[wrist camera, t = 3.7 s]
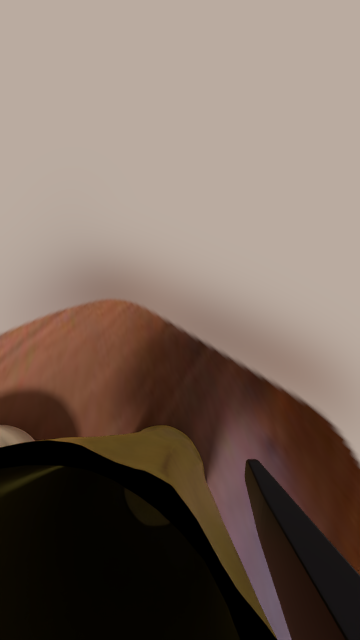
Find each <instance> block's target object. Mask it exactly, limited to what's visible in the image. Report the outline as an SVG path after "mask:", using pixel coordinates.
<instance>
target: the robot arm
mask: <svg viewBox="0 0 360 640" xmlns="http://www.w3.org/2000/svg"><path fill="white" fill-rule="evenodd" d="M245 482H246V486H247V490H248V495H249V499H250V503H251V507H252V511H253V515H254V520H255V524H256V528H257V532H258V536H259V539H260V543H261V546H262V549H263V552H264V555H265V558H266V561H267V564H268V568H269V571H270V574H271V577H272V580H273V583H274V586H275V589H276V592H277V595H278V598H279V601H280V605H281V608H282V611H283V614H284V617H285V620H286V623H287V626H288V629H289V632H290V635H291V638H292V640H360V575H359V574H358V573H357V572H356V571H355V569H354V568H353V567H352V566H351V565H350V564H349V563H348V562H347V560H346V559H345V558H344V557H343V556H342V555H341V554H340V552H339V551H338V550H337V549H336V548H335V547H334V546H333V545H332V543H331V542H330V541H329V540H328V539H327V538H326V537H325V536H324V534H323V533H322V532H321V531H320V530H319V529H318V528H317V526H316V525H315V524H314V523H313V522H312V521H311V520H310V519H309V517H308V516H307V515H306V514H305V513H304V512H303V511H302V509H301V508H300V507H299V506H298V505H297V504H296V503H295V502H294V500H293V499H292V498H291V497H290V496H289V495H288V494H287V493H286V491H285V490H284V489H283V488H282V487H281V486H280V485H279V483H278V482H277V481H276V480H275V479H274V478H273V477H272V476H271V474H270V473H269V472H268V471H267V470H266V469H265V468H264V466H263V465H262V464H261V463H260V462H259V461H258V460H256V459H248V460H247V461H246V467H245Z"/></svg>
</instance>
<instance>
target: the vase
mask: <svg viewBox="0 0 360 640" xmlns="http://www.w3.org/2000/svg"><path fill="white" fill-rule="evenodd" d="M0 640H277V638H276V636H275V634H274V632H273V630H272V628H271V626H270V624H269V622H268V620H267V618H266V616H265V614H264V612H263V609H262V607H261V605H260V603H259V601H258V599H257V596H256V594H255V592H254V590H253V587H252V585H251V583H250V581H249V578H248V576H247V574H246V571H245V569H244V567H243V564H242V562H241V560H240V558H239V556H238V553H237V551H236V549H235V547H234V545H233V543H232V540H231V538H230V536H229V534H228V532H227V529H226V527H225V525H224V523H223V521H222V518H221V515H220V513H219V510H218V508H217V506H216V503H215V501H214V498H213V496H212V494H211V492H210V489H209V487H208V485H207V482H206V480H205V477H204V467H203V462H202V459H201V457H200V455H199V452H198V451H197V449H196V447H195V446H194V444H193V442H192V441H191V440H190V439H189V438H188V436H186V435H185V434H184V433H182V432H181V431H179V430H177V429H176V428H173V427H171V426H166V425H157V426H152V427H148V428H145V429H143V430H142V431H140V432H136V433H130V434H123V435H110V436H100V437H68V438H58V439H51V440H40V441H31V442H24V443H19V444H14V445H9V446H4V447H0Z"/></svg>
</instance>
